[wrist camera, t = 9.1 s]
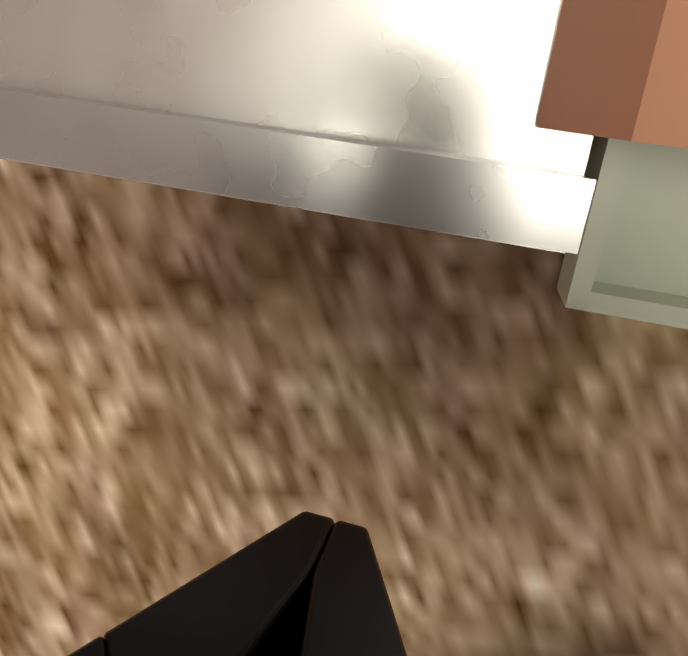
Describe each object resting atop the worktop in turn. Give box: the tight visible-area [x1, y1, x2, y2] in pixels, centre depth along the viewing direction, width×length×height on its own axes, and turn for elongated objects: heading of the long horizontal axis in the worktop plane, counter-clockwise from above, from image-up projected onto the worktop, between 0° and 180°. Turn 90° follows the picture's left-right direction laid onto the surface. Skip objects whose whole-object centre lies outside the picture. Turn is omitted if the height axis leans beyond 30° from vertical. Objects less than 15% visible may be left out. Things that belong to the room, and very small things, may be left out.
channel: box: [0, 0, 596, 254], centre depth 15 cm, size 9×15×5 cm, turn 83°
